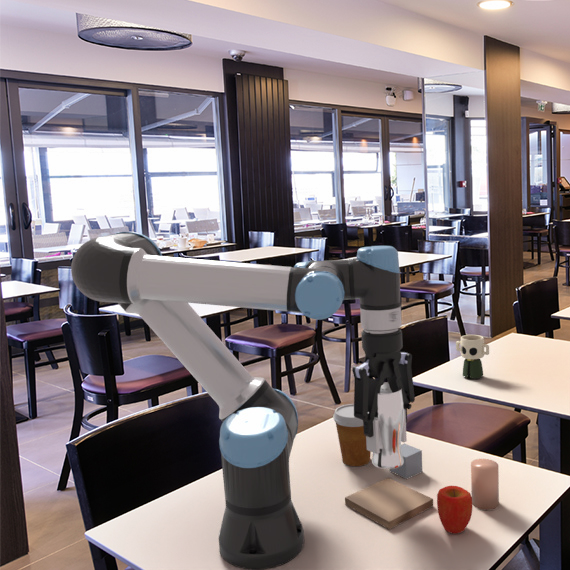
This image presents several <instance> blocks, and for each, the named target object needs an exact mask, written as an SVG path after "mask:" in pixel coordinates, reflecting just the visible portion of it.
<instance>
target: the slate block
mask: <svg viewBox="0 0 570 570" xmlns="http://www.w3.org/2000/svg"><path fill="white" fill-rule="evenodd" d="M401 450H402V455H403V459H404V463H403V465H402V466H401V467H399V468H395V469H388V470H389V472H390V471H391V472H390V473H392V472H394V473H396V474H398V475H400V476H402V477H401V478H403V477H404V478H403V479H405V478H406V479H405V480H408V479H410V478H412V477H414V475H415V476H417V475H419V474H421V473H422V472H423V450H421V449H420V448H416V447H415V446H412V445H409V444H406V443H403V444H402V443H401ZM420 472H421V473H420ZM394 473H393V474H394ZM418 473H419V474H418ZM396 474H395V475H396ZM416 474H417V475H416ZM398 475H397V476H398ZM400 476H399V477H400ZM411 476H412V477H411ZM409 477H410V478H409ZM407 478H408V479H407Z"/></svg>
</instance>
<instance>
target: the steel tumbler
mask: <svg viewBox="0 0 570 570" xmlns="http://www.w3.org/2000/svg"><path fill="white" fill-rule="evenodd" d="M399 389H400V390H398V391H396V392H392V390H391V389H390V386H389V383H388V382H384V383H383V385H381V388H380V393H377V409H376V414H375V419H377V420H378V428H379V448H380V453H378V454H375V453H373V452H372V455H371V463H372V465H373V466H374V467H376V468H378V469H381V470H389V469H395V468H399V467H401V466H402V465H403V463H404V459H403V455H402V450H401V445H402V442H401V436H402V429H403V422H404V402H403V394H402V387H401V386H399ZM368 413H369V412H368Z"/></svg>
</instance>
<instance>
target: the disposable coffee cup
mask: <svg viewBox="0 0 570 570" xmlns="http://www.w3.org/2000/svg"><path fill="white" fill-rule="evenodd" d="M332 418H333V420H334V422H335V427H336V432H337V439H338V442H339V448H340V449H339V450H340V454H341V458H342V459H341V460H342V463H343V464H345V465H347V466H349V467H362V466H365V464H366V465H368V464H369V463H370V462H371V453H372V452H371V451H368V450H367V445H366V436H365V435H364V428H363V420H361V419H358V418H356V417H354V403H350V404H343V405H340V406H338V407H336V408H335V410H334V414H333V415H332ZM369 461H370V462H369Z"/></svg>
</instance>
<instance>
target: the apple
mask: <svg viewBox="0 0 570 570" xmlns="http://www.w3.org/2000/svg"><path fill="white" fill-rule="evenodd" d="M436 498H437V500H436V506H437V513H438V517H439V520H440V523H441V525H442V527H443V528H444V530H445V531H446V532H449V533H450V534H453V535H454V534H461V533H462V532H464V531H465V530H466V528H467V526H468V524H469V523H470V521H471V518H472V514H473V505H472V494H471V493H470V492H469V491H468V490H467V489H465V488H463V487H460V486H457V485H447V486H444V487H442V488H439V490H438V492H437V495H436Z"/></svg>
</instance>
